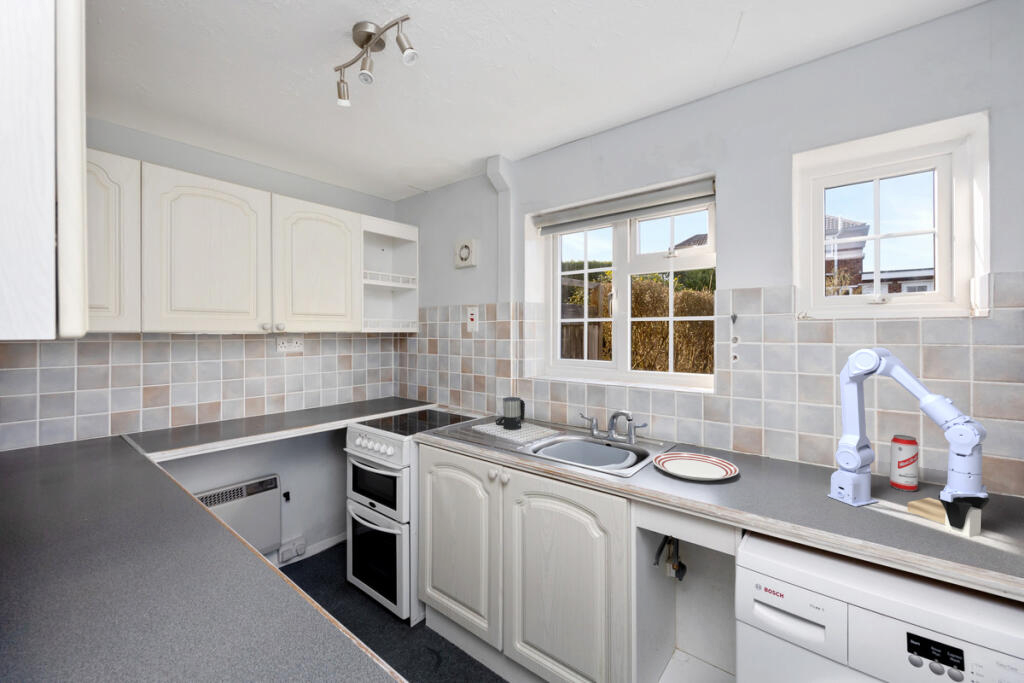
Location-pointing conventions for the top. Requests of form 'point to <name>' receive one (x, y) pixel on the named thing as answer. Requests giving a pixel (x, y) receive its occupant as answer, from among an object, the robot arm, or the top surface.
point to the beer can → (904, 463)
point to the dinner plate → (695, 466)
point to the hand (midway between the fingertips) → (962, 525)
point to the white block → (968, 523)
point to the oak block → (928, 509)
